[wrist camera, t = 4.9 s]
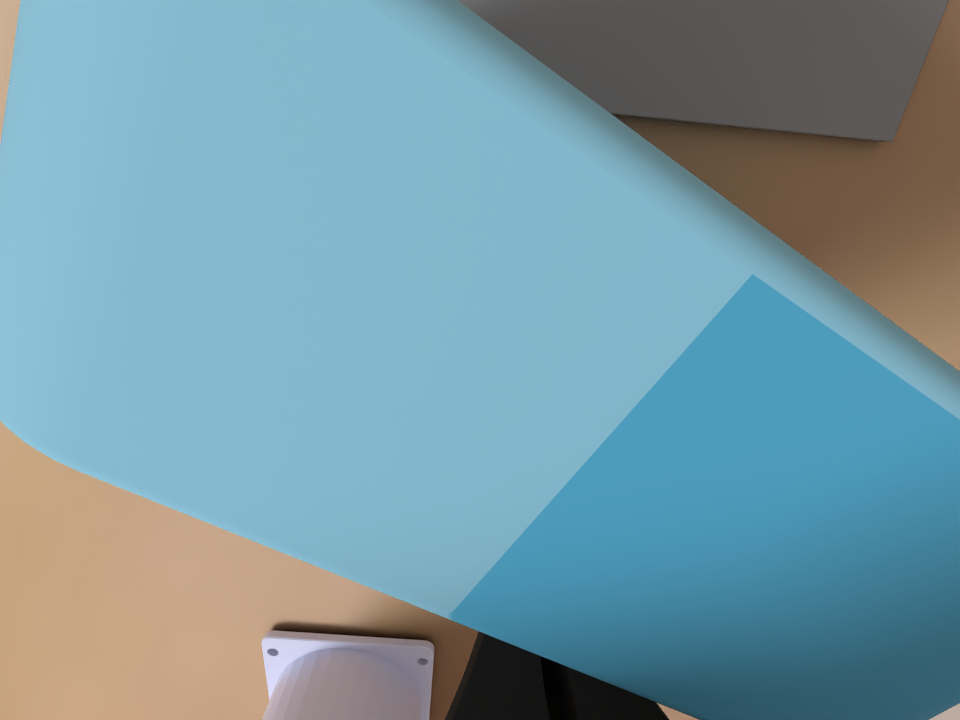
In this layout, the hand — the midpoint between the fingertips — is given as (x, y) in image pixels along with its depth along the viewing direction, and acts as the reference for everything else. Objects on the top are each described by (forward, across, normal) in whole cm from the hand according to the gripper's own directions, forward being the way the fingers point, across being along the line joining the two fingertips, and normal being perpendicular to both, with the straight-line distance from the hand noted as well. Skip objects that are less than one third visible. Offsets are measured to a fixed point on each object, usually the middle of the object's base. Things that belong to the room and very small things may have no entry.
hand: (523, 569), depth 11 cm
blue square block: (+7, 0, -6) cm, 10 cm away
